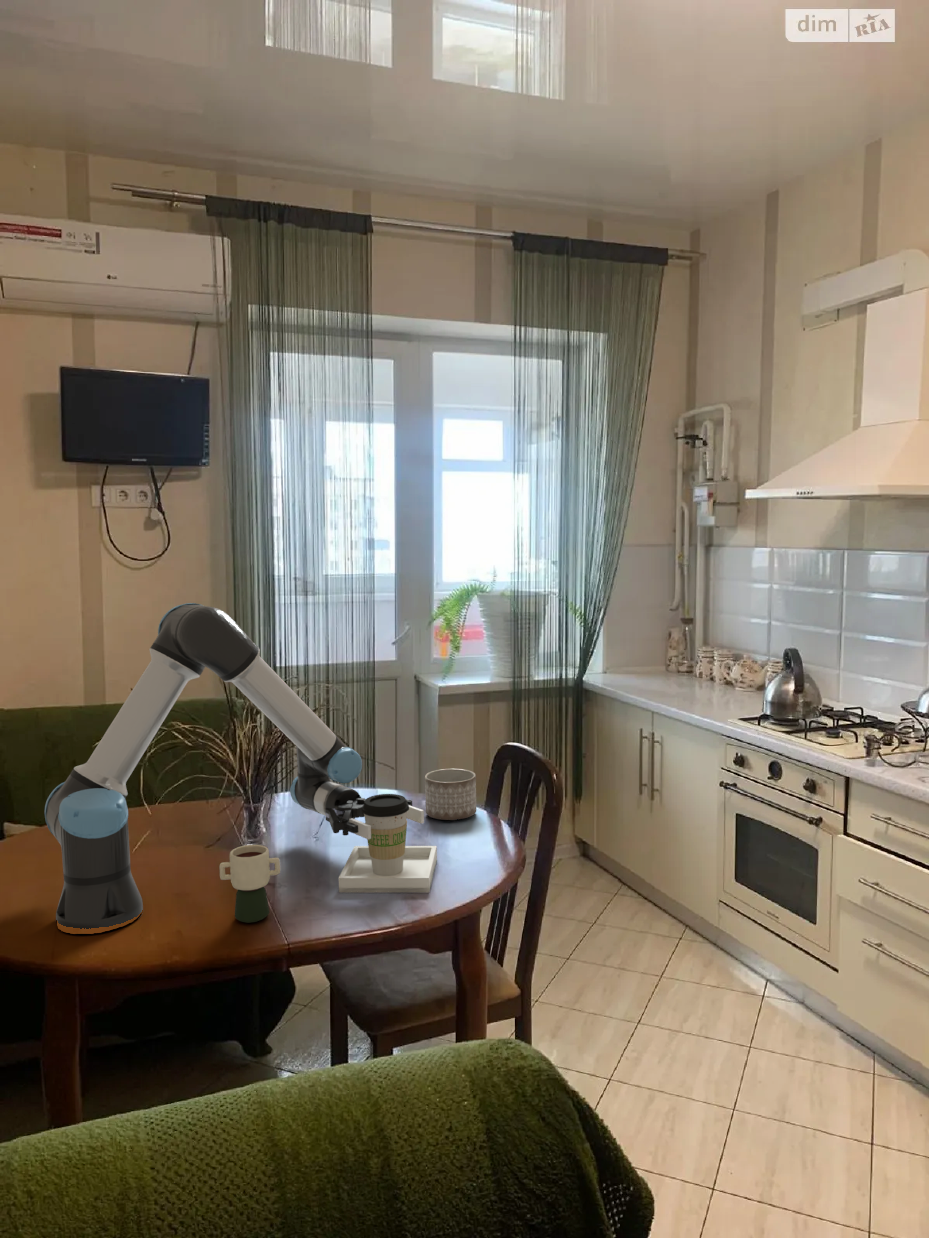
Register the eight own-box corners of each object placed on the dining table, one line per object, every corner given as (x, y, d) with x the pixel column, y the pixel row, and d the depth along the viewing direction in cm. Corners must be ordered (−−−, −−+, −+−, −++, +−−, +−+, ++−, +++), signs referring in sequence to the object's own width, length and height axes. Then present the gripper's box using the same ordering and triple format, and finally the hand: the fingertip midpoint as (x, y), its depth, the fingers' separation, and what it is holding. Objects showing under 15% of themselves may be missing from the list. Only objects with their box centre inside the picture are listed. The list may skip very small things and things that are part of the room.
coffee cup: (378, 883, 180) (375, 811, 178) (355, 868, 188) (352, 798, 186) (420, 871, 185) (417, 801, 184) (396, 857, 194) (394, 789, 192)
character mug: (281, 907, 172) (279, 841, 170) (282, 923, 165) (279, 854, 164) (223, 913, 170) (219, 847, 168) (220, 929, 163) (217, 860, 161)
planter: (415, 816, 225) (414, 775, 224) (452, 804, 234) (451, 765, 233) (449, 827, 216) (448, 785, 215) (486, 815, 225) (486, 774, 224)
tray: (429, 892, 177) (428, 877, 177) (339, 892, 178) (338, 877, 178) (437, 859, 195) (436, 845, 195) (355, 859, 196) (354, 846, 196)
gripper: (384, 806, 208) (443, 827, 192) (290, 832, 191) (346, 857, 176) (383, 774, 207) (442, 793, 191) (288, 798, 191) (345, 820, 175)
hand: (396, 824), depth 183 cm, fingers open, 13 cm apart
